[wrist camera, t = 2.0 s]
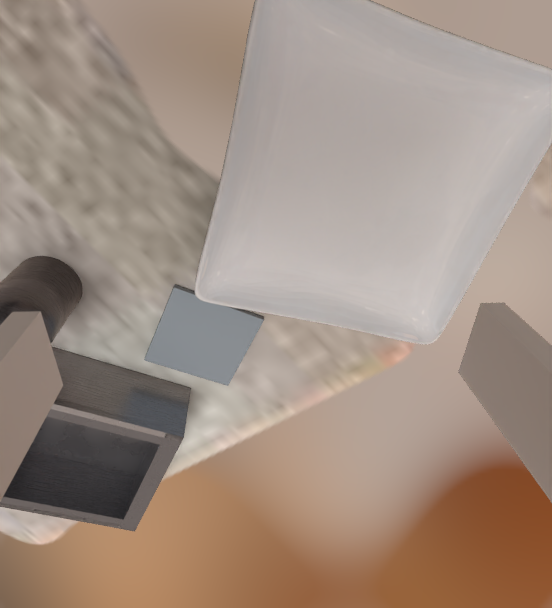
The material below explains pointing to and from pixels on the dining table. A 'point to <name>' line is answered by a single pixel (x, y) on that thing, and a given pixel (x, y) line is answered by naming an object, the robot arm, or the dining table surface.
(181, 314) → the mat
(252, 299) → the salad plate
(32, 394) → the robot arm
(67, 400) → the shallow square tray
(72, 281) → the jar with red lid
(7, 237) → the dining table surface
